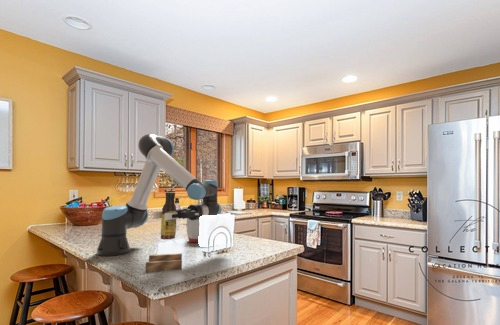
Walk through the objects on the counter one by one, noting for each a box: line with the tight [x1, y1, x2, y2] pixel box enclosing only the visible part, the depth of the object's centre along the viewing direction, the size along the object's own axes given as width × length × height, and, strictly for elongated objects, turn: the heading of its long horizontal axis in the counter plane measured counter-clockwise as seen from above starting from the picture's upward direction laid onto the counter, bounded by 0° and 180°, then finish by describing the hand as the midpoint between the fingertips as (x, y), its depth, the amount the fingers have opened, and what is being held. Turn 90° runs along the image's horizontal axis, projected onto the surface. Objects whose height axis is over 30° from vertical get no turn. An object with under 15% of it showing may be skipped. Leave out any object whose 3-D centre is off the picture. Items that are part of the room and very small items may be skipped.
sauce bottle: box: [160, 191, 177, 240], centre depth 123 cm, size 6×6×20 cm
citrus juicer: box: [186, 218, 199, 243], centre depth 176 cm, size 16×17×20 cm
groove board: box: [145, 252, 183, 273], centre depth 122 cm, size 14×13×3 cm
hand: (159, 216), depth 119 cm, fingers closed on sauce bottle, 6 cm apart
